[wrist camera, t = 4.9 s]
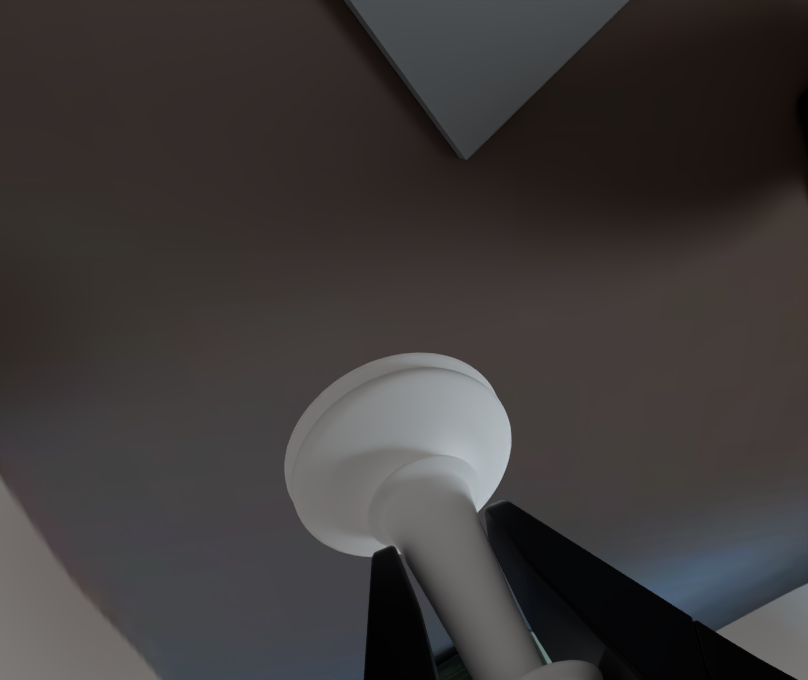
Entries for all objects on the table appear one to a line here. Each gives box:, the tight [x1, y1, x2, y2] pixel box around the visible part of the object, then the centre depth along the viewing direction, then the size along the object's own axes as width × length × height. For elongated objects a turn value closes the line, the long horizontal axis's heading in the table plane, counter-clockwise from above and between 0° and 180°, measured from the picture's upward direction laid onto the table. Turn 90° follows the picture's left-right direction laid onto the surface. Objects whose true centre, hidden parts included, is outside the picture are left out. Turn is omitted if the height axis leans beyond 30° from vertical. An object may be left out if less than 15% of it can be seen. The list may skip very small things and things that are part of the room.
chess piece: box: [284, 353, 604, 680], centre depth 7 cm, size 5×5×10 cm
